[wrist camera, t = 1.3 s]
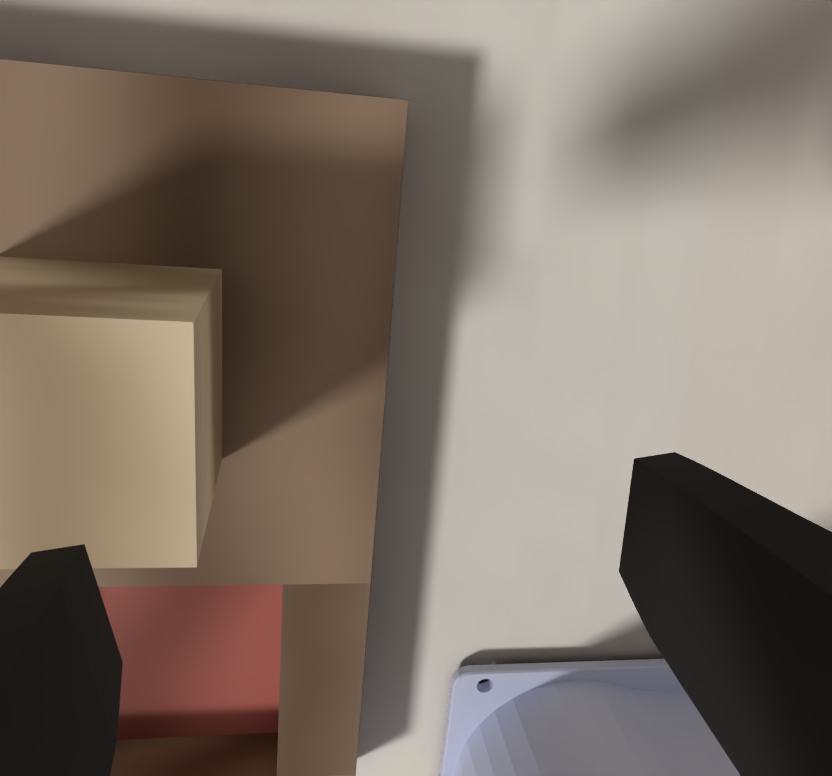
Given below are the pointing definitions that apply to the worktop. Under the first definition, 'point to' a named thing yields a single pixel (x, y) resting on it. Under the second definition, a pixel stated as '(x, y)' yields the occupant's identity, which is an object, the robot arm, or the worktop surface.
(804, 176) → the worktop surface
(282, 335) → the trap deck
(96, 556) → the maple block
